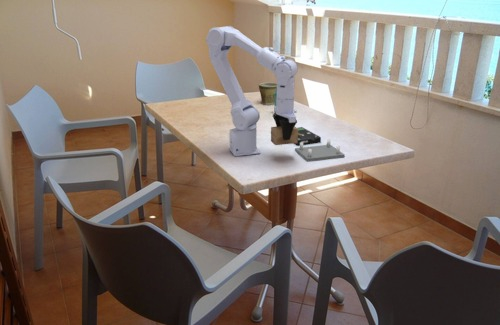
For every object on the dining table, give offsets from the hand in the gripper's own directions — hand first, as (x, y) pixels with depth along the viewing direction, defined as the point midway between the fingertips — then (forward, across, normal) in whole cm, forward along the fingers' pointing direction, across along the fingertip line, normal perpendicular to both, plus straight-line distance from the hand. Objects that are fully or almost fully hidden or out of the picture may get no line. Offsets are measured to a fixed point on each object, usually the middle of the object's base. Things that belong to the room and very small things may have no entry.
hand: (283, 137), depth 140 cm
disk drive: (+8, +18, -14) cm, 24 cm away
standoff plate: (+8, 0, -14) cm, 16 cm away
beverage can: (+8, +54, -20) cm, 58 cm away
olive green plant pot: (+8, +77, -21) cm, 80 cm away
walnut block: (+2, 0, 0) cm, 2 cm away
